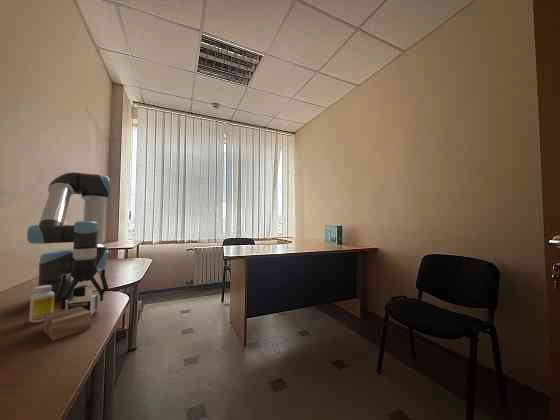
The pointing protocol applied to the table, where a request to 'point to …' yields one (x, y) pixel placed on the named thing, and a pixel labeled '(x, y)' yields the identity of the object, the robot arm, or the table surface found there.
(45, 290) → the supplement bottle
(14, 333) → the table surface
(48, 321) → the wooden block
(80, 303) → the medicine bottle
